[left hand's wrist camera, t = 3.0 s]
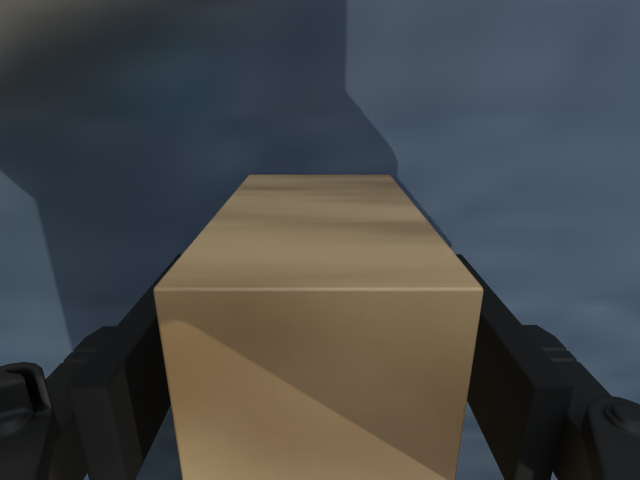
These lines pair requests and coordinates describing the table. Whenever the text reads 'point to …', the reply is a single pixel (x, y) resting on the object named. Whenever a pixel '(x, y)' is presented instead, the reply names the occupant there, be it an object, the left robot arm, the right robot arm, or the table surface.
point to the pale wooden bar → (318, 336)
